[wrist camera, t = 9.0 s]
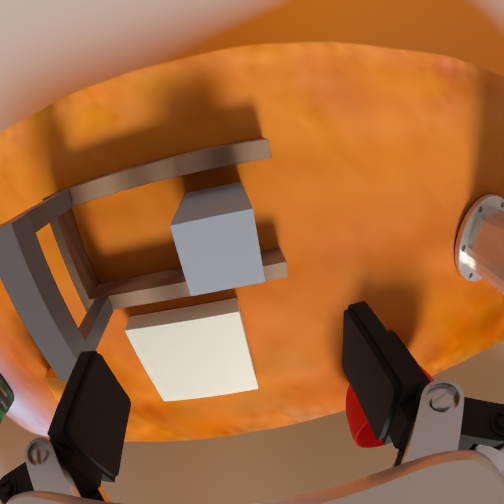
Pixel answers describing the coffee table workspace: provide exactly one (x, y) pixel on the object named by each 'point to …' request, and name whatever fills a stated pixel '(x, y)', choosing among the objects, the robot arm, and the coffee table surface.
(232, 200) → the block
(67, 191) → the grey arch
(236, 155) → the rack
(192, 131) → the coffee table surface
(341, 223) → the coffee table surface
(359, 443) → the ceramic cup
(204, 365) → the plinth
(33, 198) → the coffee table surface
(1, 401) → the coffee jar
